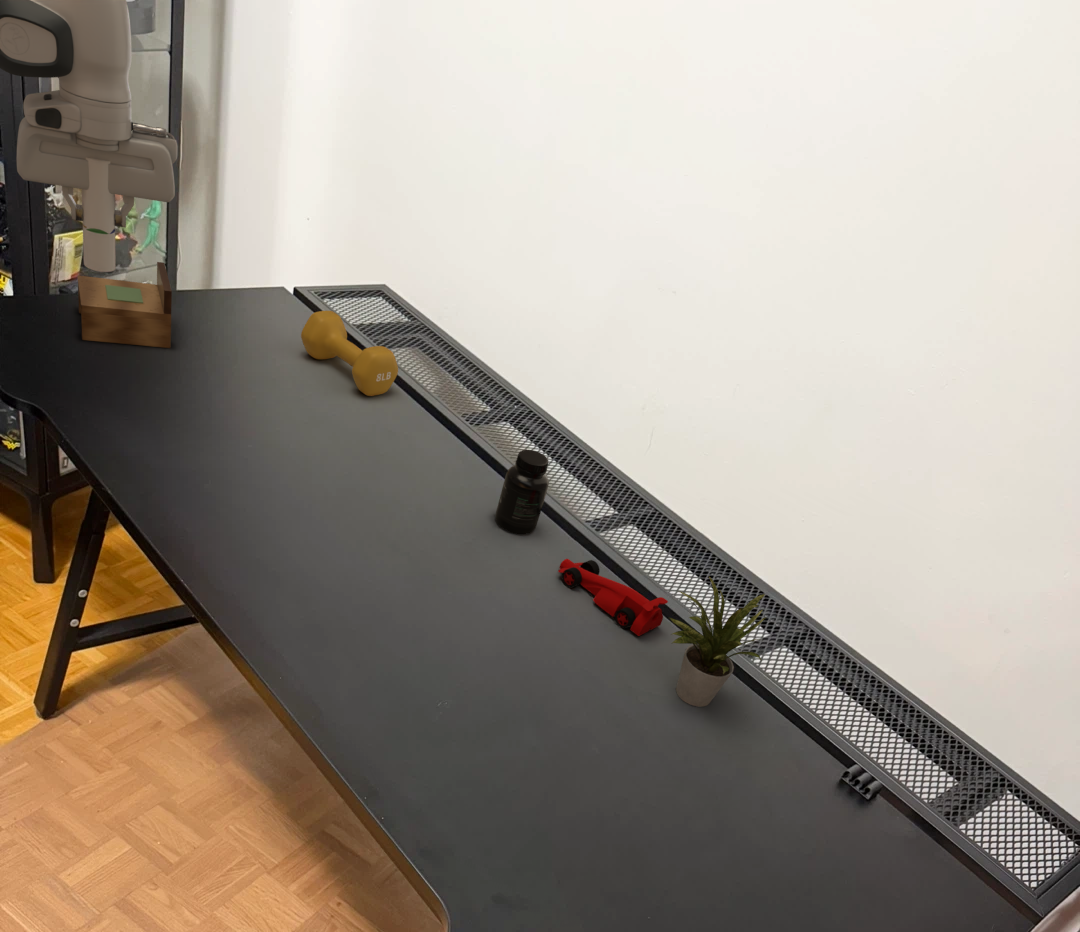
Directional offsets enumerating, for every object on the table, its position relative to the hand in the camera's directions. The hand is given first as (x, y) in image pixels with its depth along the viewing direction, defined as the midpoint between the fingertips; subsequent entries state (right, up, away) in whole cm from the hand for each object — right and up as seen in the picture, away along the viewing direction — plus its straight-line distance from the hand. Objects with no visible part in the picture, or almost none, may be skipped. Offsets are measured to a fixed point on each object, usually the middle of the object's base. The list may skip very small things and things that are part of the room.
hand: (98, 222), depth 145 cm
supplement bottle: (+59, -40, +18) cm, 74 cm away
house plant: (+85, -67, -2) cm, 108 cm away
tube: (-2, -5, +4) cm, 6 cm away
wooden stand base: (-9, -3, +32) cm, 34 cm away
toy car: (+73, -53, +8) cm, 91 cm away
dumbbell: (+28, -8, +42) cm, 51 cm away
